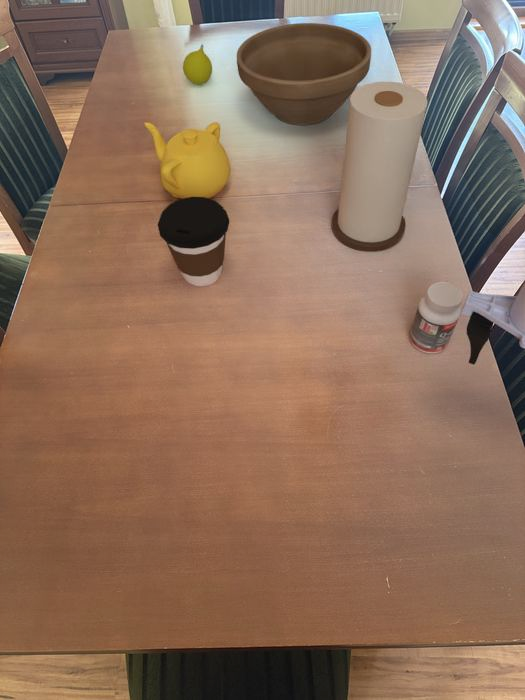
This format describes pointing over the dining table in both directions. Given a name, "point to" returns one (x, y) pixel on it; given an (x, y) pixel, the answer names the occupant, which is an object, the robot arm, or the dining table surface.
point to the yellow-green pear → (197, 67)
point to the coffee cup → (196, 237)
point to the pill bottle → (436, 317)
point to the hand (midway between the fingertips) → (506, 369)
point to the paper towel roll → (378, 164)
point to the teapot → (192, 162)
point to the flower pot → (303, 69)
